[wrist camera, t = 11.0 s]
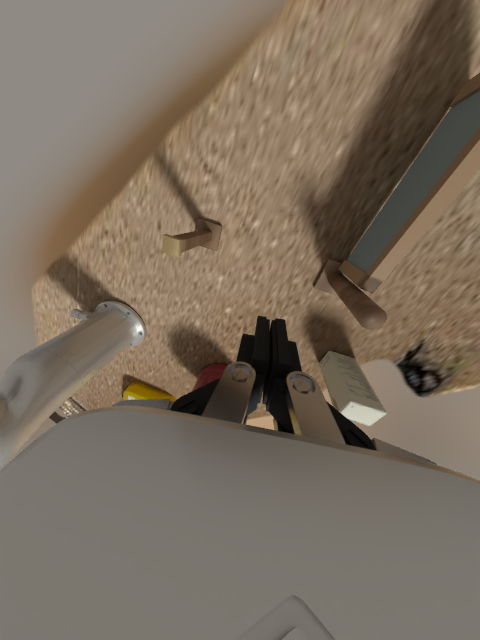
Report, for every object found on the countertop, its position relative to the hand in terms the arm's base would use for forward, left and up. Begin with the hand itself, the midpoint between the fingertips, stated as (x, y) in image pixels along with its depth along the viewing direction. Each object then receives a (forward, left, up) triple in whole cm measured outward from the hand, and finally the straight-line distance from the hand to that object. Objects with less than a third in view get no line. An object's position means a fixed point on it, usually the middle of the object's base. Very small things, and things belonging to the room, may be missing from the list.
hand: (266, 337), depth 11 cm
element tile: (-21, -55, -23) cm, 63 cm away
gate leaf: (+12, +12, -22) cm, 27 cm away
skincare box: (+21, -15, -23) cm, 35 cm away
